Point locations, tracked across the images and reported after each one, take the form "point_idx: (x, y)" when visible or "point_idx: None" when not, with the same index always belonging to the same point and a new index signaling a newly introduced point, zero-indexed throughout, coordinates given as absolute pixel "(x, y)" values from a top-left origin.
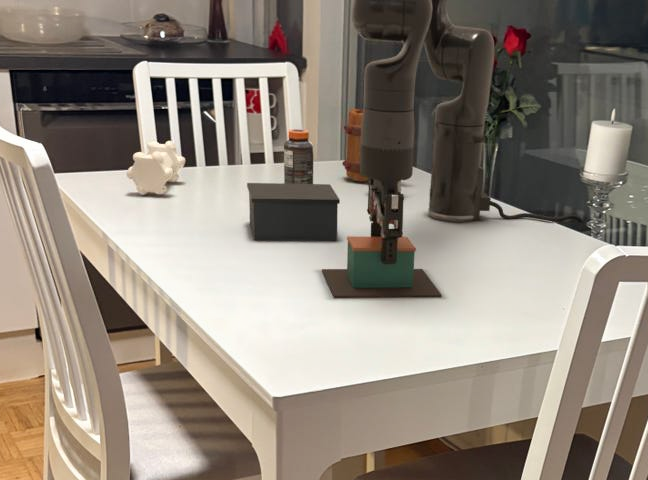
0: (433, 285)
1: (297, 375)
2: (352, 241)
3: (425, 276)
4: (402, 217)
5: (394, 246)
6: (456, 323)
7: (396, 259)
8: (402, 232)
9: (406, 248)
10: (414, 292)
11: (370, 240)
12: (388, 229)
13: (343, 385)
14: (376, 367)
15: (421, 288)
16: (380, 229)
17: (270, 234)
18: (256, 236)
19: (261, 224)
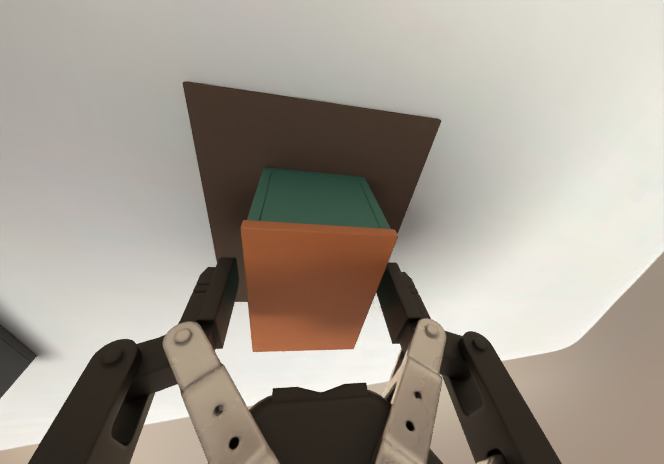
0: (362, 113)
1: (551, 338)
2: (300, 347)
3: (272, 105)
4: (530, 413)
5: (422, 307)
6: (588, 151)
7: (399, 268)
8: (486, 347)
9: (388, 259)
10: (399, 183)
11: (294, 321)
12: (474, 382)
13: (600, 317)
14: (599, 292)
15: (377, 157)
16: (223, 312)
17: (8, 351)
18: (28, 360)
19: (1, 380)
